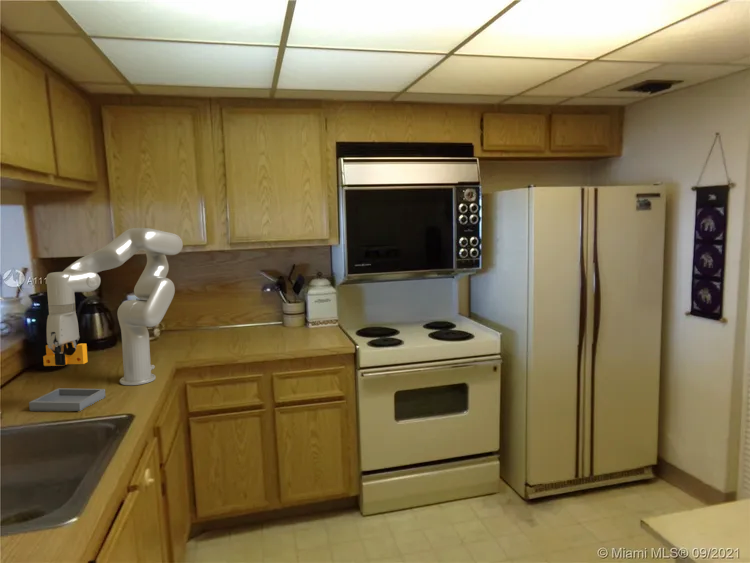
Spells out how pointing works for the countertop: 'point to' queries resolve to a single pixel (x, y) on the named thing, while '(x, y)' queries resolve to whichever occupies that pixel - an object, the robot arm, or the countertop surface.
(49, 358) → the pipe clamp
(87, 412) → the countertop surface
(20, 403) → the countertop surface
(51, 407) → the parts tray
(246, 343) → the countertop surface
